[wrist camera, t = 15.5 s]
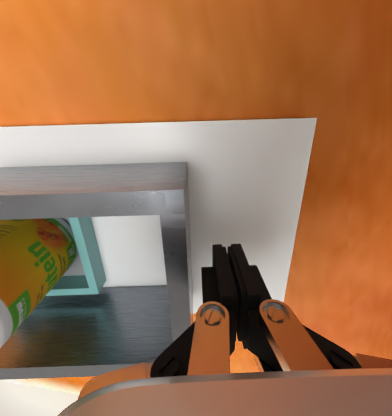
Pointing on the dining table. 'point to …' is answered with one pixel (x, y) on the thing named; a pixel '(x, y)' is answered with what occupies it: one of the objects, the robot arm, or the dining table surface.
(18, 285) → the supplement bottle
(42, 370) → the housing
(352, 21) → the dining table surface
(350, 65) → the dining table surface
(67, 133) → the base plate
